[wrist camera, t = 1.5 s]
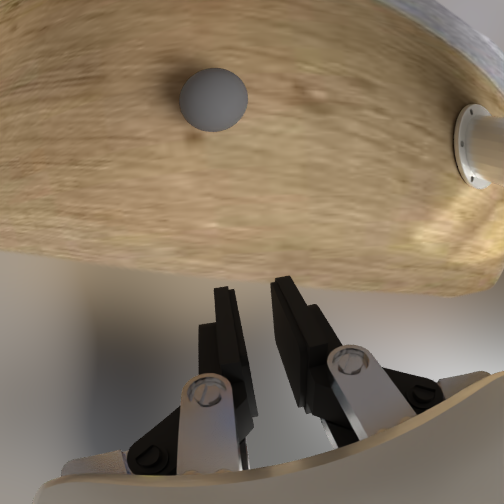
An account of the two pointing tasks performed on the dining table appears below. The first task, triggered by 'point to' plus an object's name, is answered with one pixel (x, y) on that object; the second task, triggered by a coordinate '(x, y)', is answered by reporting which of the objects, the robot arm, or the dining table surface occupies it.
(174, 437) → the robot arm
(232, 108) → the dark gray ball
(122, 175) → the dining table surface
